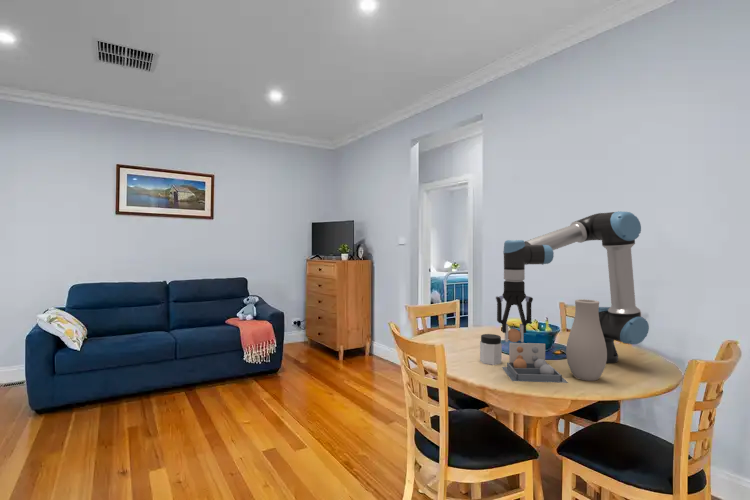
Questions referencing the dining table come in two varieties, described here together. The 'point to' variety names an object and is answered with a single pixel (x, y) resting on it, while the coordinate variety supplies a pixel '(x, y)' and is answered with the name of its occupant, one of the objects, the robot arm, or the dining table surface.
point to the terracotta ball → (519, 363)
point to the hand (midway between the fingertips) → (514, 341)
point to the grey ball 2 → (546, 370)
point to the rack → (529, 364)
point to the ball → (514, 335)
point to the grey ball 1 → (539, 363)
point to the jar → (490, 349)
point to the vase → (586, 342)
